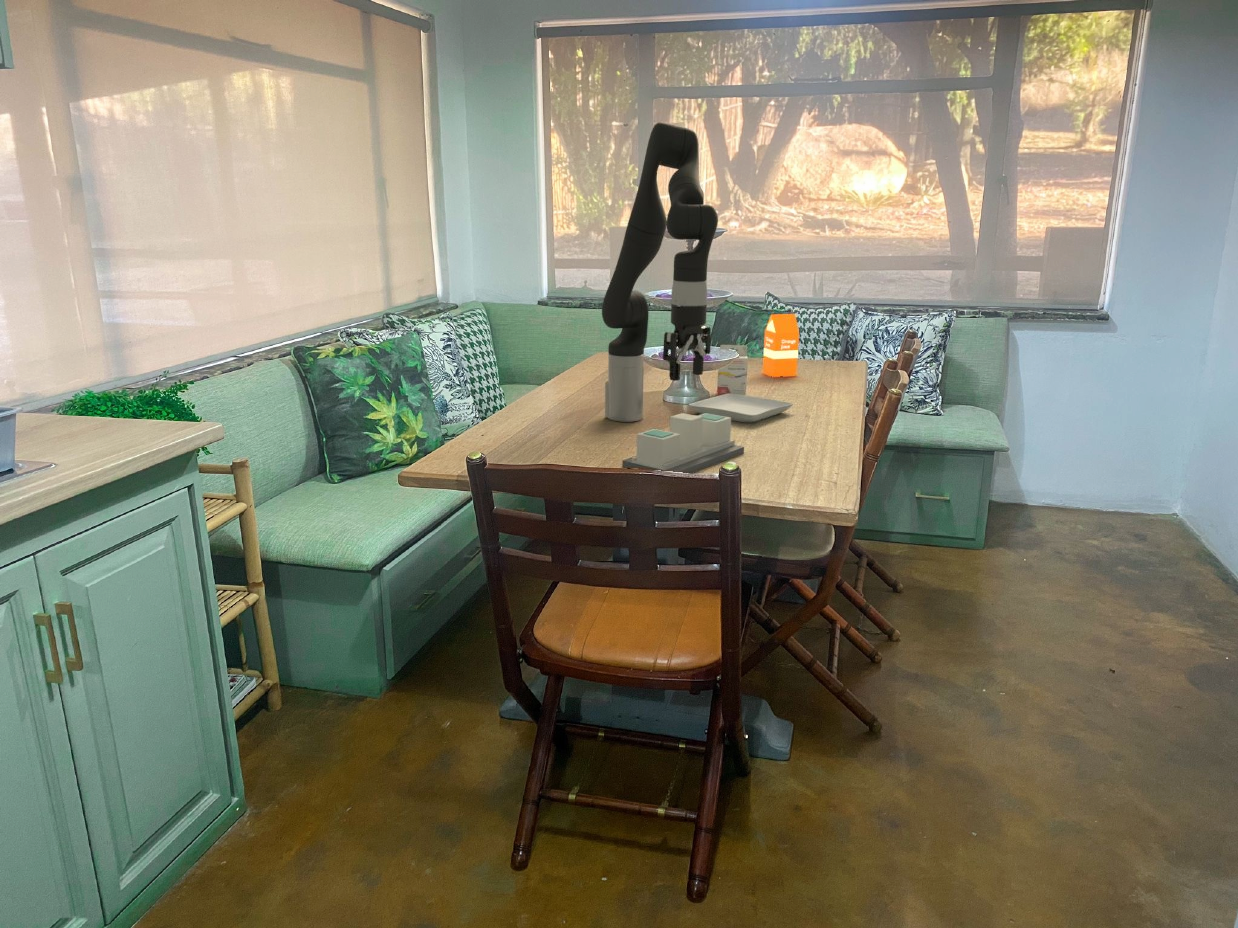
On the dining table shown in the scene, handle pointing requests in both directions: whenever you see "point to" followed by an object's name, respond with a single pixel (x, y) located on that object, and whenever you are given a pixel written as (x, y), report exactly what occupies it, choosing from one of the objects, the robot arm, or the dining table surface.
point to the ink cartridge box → (733, 373)
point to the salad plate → (740, 407)
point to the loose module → (687, 432)
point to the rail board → (665, 448)
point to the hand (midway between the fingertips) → (686, 377)
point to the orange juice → (781, 346)
